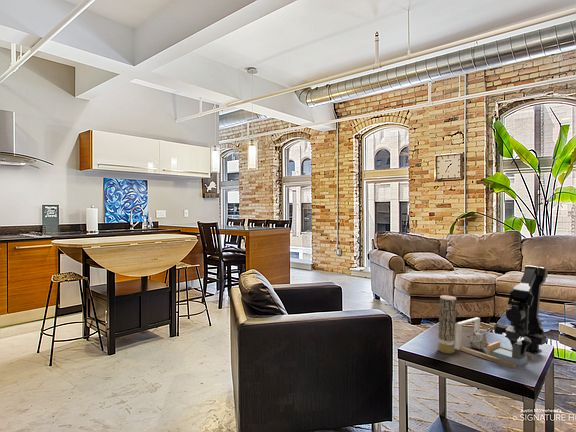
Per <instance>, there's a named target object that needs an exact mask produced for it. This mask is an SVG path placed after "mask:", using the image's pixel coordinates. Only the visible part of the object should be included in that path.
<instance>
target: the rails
mask: <svg viewBox="0 0 576 432" xmlns="http://www.w3.org/2000/svg"><path fill="white" fill-rule="evenodd" d="M487 343H488V344H492V343H493V342H492V343H491V342H489V341H487ZM500 348H501V349H504V350H508V351H511V352H512V349H511V348H508V347H505V346H501V345H500ZM460 351H462V352H464V353H467V354H469V355H472V356H476V357H478V358H482V359H485V360H488V361H491V362H493V361H494V363H495V364H499V365H501V366H505V367H508V368H510V369H511V368H512V369H516V368H517V367H516V366H517V365H516V364H514V363H511V362H508V361H505V360H502V359H499V358H496V357H493V356H490V355H487V353H484V352H481V351H479V350H478V351H477V350H475V349H472V348H470V347H469V348H468V347H466V346H462V345H461V350H460ZM525 356H527V360H528V361H529V360H530V361H532V360H533V358H534V356H533V354H532V355H531V354H528V353H525Z"/></svg>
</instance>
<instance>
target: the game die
mask: <svg viewBox="0 0 576 432" xmlns="http://www.w3.org/2000/svg"><path fill="white" fill-rule="evenodd" d="M466 337H467V338H469V342H470V345H471V346H470V347H471V348H475V349H478V352H481V351H482V349H483V348H486V347H487V345H489V344H488V343H487V342H488V340H487V337H486V333H484V334H483V333H478V332H477V330H476V333H474V332H473V334H471V335H470V336H469V335H468V336H466Z"/></svg>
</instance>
